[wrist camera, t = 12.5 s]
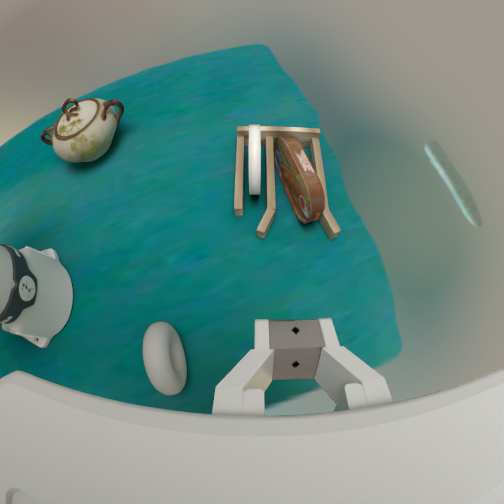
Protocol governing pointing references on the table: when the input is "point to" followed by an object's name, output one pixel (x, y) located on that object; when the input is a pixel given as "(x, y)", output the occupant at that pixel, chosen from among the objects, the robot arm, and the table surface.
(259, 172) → the racked plate
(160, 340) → the donut
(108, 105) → the sugar bowl
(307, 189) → the tin
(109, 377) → the table surface
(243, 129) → the rack
